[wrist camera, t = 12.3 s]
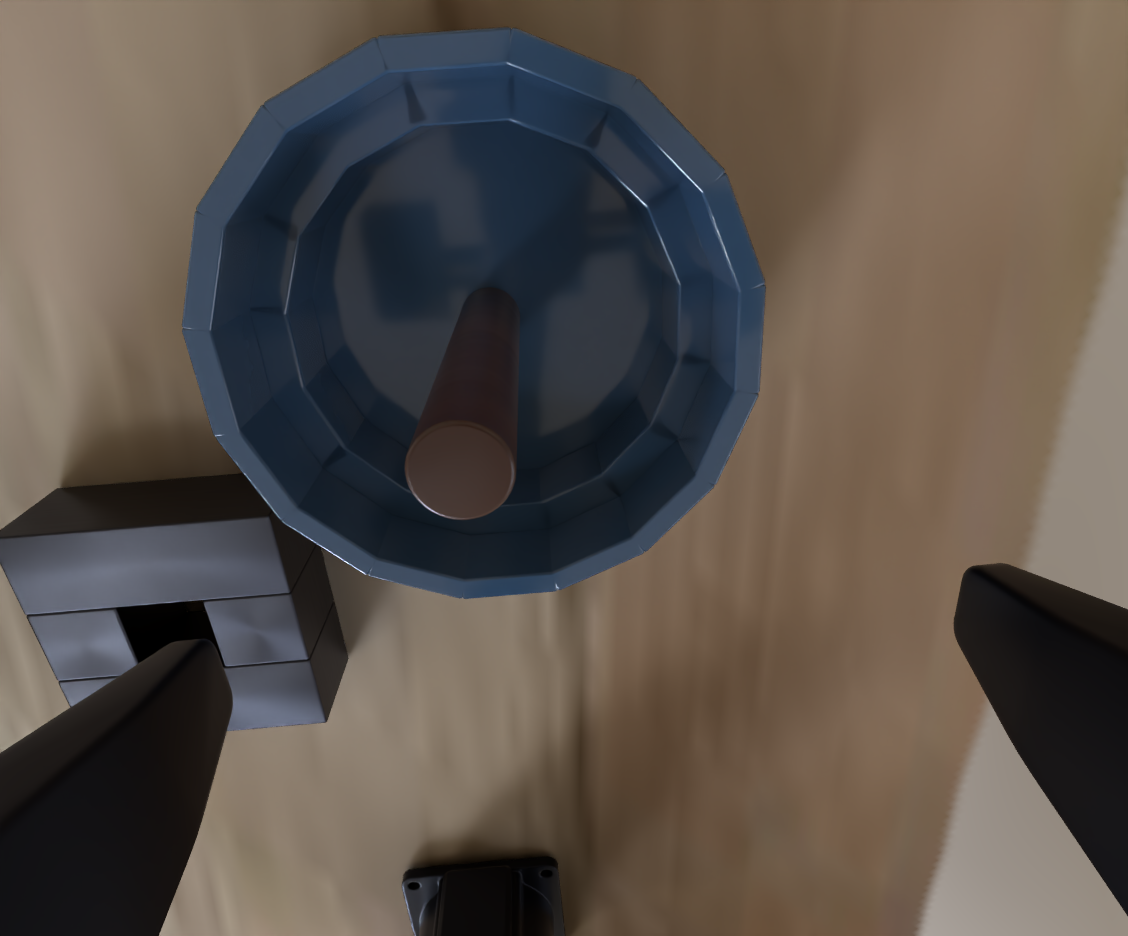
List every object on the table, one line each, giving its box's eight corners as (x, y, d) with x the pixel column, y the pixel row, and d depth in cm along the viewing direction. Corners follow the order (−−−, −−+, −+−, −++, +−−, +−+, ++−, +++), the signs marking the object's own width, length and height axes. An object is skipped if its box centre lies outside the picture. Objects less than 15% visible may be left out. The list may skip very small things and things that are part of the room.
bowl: (703, 487, 22) (749, 576, 18) (320, 519, 22) (268, 616, 17) (714, 44, 17) (783, 7, 12) (212, 78, 17) (96, 53, 12)
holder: (349, 658, 24) (327, 723, 22) (136, 676, 24) (87, 744, 21) (301, 468, 21) (269, 516, 18) (56, 487, 21) (-13, 538, 18)
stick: (522, 343, 19) (520, 517, 10) (465, 347, 19) (412, 526, 10) (517, 284, 19) (510, 416, 10) (458, 289, 19) (395, 425, 10)
